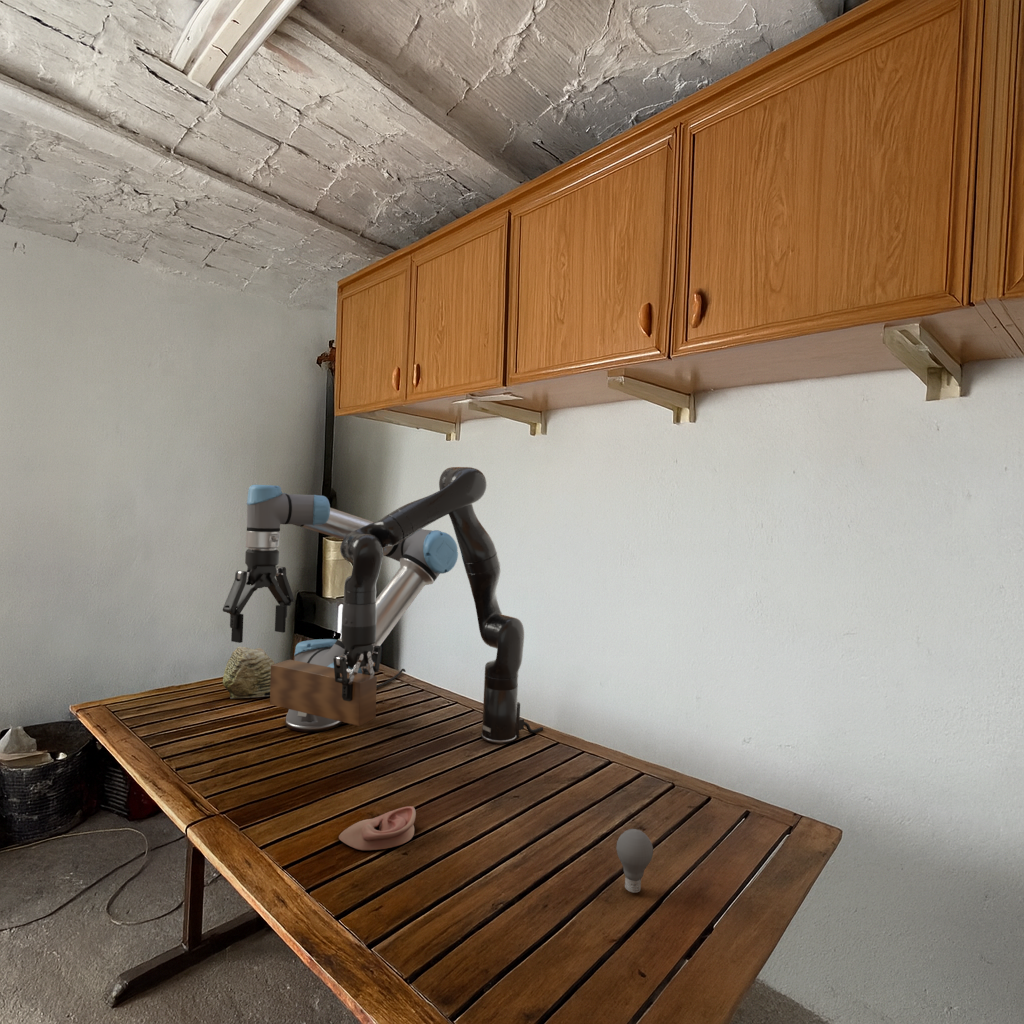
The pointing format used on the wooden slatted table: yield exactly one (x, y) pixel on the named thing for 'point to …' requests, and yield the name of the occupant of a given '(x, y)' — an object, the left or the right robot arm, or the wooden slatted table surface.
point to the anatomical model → (381, 830)
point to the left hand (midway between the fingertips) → (259, 636)
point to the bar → (322, 692)
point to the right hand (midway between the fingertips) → (357, 696)
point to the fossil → (248, 673)
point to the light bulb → (634, 857)
